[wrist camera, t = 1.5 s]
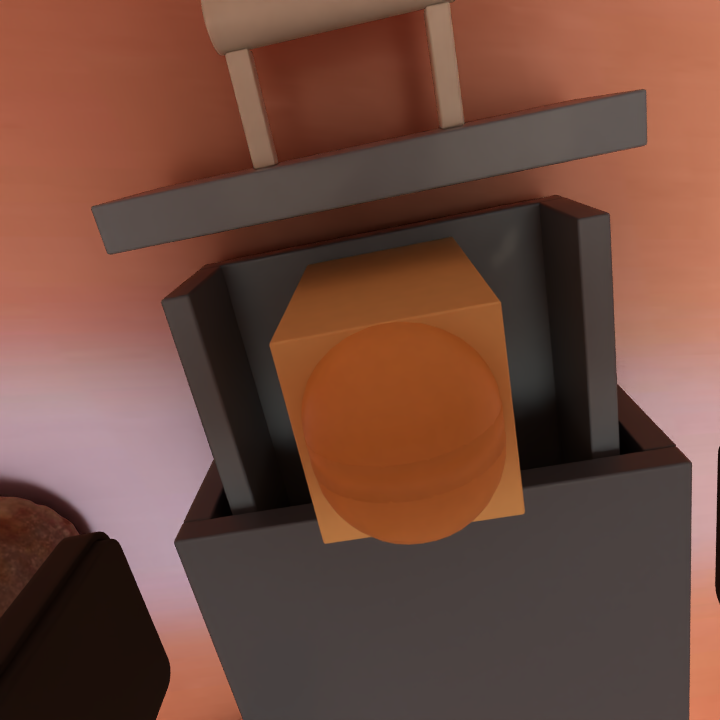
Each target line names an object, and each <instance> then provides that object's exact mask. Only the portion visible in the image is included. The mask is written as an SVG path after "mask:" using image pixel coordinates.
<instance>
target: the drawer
mask: <svg viewBox="0 0 720 720" xmlns="http://www.w3.org/2000/svg"><path fill="white" fill-rule="evenodd" d="M454 1H455V0H201V7H202V13H203V17H204V21H205V25H206V28H207V31H208V34H209V37H210V40H211V42H212V44H213V46H214V48H215V50H216V51H217V53H218V54H219V55H222V56H224V55H225V57H226V61H227V65H228V69H229V73H230V77H231V81H232V85H233V89H234V93H235V97H236V101H237V105H238V109H239V113H240V116H241V120H242V124H243V128H244V132H245V136H246V140H247V144H248V148H249V152H250V156H251V160H252V164H253V168H250V169H246V170H241V171H236V172H232V173H227V174H222V175H218V176H213V177H208V178H203V179H199V180H194V181H189V182H185V183H180V184H175V185H171V186H166V187H161V188H157V189H154V190H150V191H146V192H143V193H139V194H135V195H132V196H128V197H124V198H121V199H117V200H113V201H110V202H106V203H102V204H99V205H95V206H92V207H91V210H92V213H93V215H94V218H95V221H96V224H97V226H98V229H99V232H100V235H101V237H102V240H103V243H104V246H105V249H106V251H107V253H108V254H110V255H111V254H116V253H121V252H126V251H131V250H135V249H140V248H145V247H150V246H155V245H160V244H165V243H170V242H175V241H180V240H185V239H189V238H194V237H199V236H204V235H209V234H214V233H219V232H224V231H229V230H234V229H239V228H243V227H248V226H253V225H258V224H263V223H268V222H273V221H278V220H283V219H288V218H293V217H298V216H302V215H307V214H312V213H317V212H322V211H327V210H332V209H337V208H342V207H347V206H352V205H356V204H361V203H366V202H371V201H376V200H381V199H386V198H391V197H396V196H401V195H406V194H410V193H415V192H420V191H425V190H430V189H435V188H440V187H445V186H450V185H455V184H460V183H464V182H469V181H474V180H479V179H484V178H489V177H494V176H499V175H504V174H509V173H514V172H518V171H523V170H528V169H533V168H538V167H543V166H548V165H553V164H558V163H563V162H568V161H572V160H577V159H582V158H587V157H592V156H597V155H602V154H607V153H612V152H617V151H622V150H626V149H631V148H636V147H641V146H645V145H646V144H647V108H646V90H644V89H641V90H634V91H628V92H621V93H614V94H608V95H601V96H594V97H588V98H581V99H574V100H569V101H565V102H560V103H555V104H551V105H546V106H541V107H537V108H532V109H527V110H522V111H518V112H513V113H508V114H504V115H499V116H494V117H490V118H485V119H480V120H476V121H471V122H466V123H464V114H463V106H462V98H461V90H460V82H459V74H458V66H457V58H456V50H455V41H454V33H453V25H452V17H451V9H450V4H449V3H452V2H454ZM422 9H425V10H424V21H425V28H426V35H427V42H428V49H429V56H430V64H431V71H432V78H433V85H434V92H435V99H436V107H437V114H438V121H439V127H440V128H438V129H433V130H429V131H424V132H419V133H415V134H410V135H405V136H400V137H396V138H391V139H386V140H382V141H377V142H372V143H368V144H363V145H358V146H354V147H349V148H344V149H339V150H335V151H330V152H325V153H321V154H316V155H311V156H307V157H302V158H297V159H293V160H288V161H283V162H279V163H278V159H277V154H276V150H275V146H274V142H273V138H272V133H271V129H270V125H269V121H268V117H267V112H266V108H265V104H264V100H263V96H262V92H261V87H260V83H259V79H258V75H257V71H256V66H255V62H254V58H253V54H252V52H251V51H250V49H254V48H259V47H263V46H267V45H272V44H276V43H280V42H284V41H289V40H293V39H297V38H302V37H306V36H310V35H315V34H319V33H323V32H327V31H332V30H336V29H340V28H345V27H349V26H353V25H357V24H362V23H366V22H370V21H375V20H379V19H383V18H388V17H392V16H396V15H400V14H405V13H409V12H413V11H418V10H422ZM448 237H453V238H454V240H455V241H456V242H457V244H458V245H459V246H460V248H461V249H462V250H463V252H464V253H465V254H466V256H467V257H468V259H469V260H470V261H471V263H472V264H473V265H474V267H475V268H476V269H477V271H478V272H479V273H480V275H481V276H482V277H483V279H484V280H485V281H486V283H487V284H488V286H489V287H490V288H491V290H492V291H493V292H494V294H495V295H496V296H497V298H498V299H499V300H500V302H501V307H502V316H503V324H504V333H505V342H506V351H507V359H508V368H509V377H510V385H511V394H512V403H513V411H514V420H515V429H516V437H517V446H518V455H519V464H520V471H521V470H528V469H534V468H540V467H547V466H553V465H559V464H566V463H572V462H579V461H585V460H591V459H598V458H604V457H611V456H617V455H620V447H619V423H618V399H617V375H616V351H615V327H614V303H613V278H612V254H611V230H610V214H609V213H607V212H604V211H601V210H598V209H595V208H593V207H590V206H587V205H584V204H581V203H578V202H576V201H573V200H570V199H567V198H564V197H561V196H558V195H554V196H549V197H544V198H539V199H534V200H529V201H524V202H519V203H514V204H508V205H503V206H498V207H493V208H488V209H483V210H478V211H473V212H468V213H463V214H458V215H453V216H448V217H443V218H438V219H433V220H428V221H423V222H418V223H413V224H408V225H403V226H398V227H393V228H388V229H383V230H378V231H373V232H368V233H363V234H358V235H353V236H347V237H342V238H337V239H332V240H327V241H322V242H317V243H312V244H307V245H302V246H297V247H292V248H287V249H282V250H277V251H272V252H267V253H262V254H257V255H252V256H247V257H242V258H237V259H232V260H227V261H222V262H217V263H212V264H207V265H205V266H203V267H202V268H201V269H200V270H199V271H197V272H196V273H195V274H194V275H192V276H191V277H190V278H189V279H187V280H186V281H185V282H184V283H182V284H181V285H180V286H179V287H177V288H176V289H175V290H174V291H172V292H171V293H170V294H169V295H168V296H166V297H165V298H164V299H163V300H162V301H161V303H162V306H163V309H164V312H165V315H166V318H167V321H168V324H169V327H170V330H171V333H172V336H173V339H174V342H175V345H176V348H177V351H178V354H179V357H180V360H181V363H182V366H183V369H184V372H185V375H186V378H187V380H188V383H189V386H190V389H191V392H192V395H193V398H194V401H195V404H196V407H197V410H198V413H199V416H200V419H201V422H202V425H203V428H204V431H205V434H206V437H207V440H208V443H209V446H210V449H211V452H212V455H213V458H214V461H215V464H216V467H217V470H218V472H219V475H220V478H221V481H222V484H223V487H224V490H225V493H226V496H227V499H228V502H229V505H230V508H231V511H232V514H233V515H240V514H246V513H253V512H259V511H265V510H272V509H278V508H285V507H291V506H297V505H304V504H310V503H313V502H312V499H311V495H310V492H309V488H308V484H307V481H306V477H305V473H304V470H303V466H302V462H301V459H300V455H299V451H298V448H297V444H296V440H295V437H294V433H293V429H292V426H291V422H290V419H289V415H288V411H287V408H286V404H285V400H284V397H283V393H282V389H281V386H280V382H279V378H278V375H277V371H276V367H275V364H274V360H273V356H272V353H271V349H270V346H269V345H270V342H271V340H272V338H273V335H274V333H275V331H276V329H277V327H278V325H279V323H280V321H281V319H282V317H283V315H284V313H285V311H286V309H287V307H288V305H289V302H290V300H291V298H292V296H293V294H294V292H295V290H296V288H297V286H298V284H299V282H300V280H301V278H302V276H303V274H304V271H305V269H306V267H307V265H310V264H315V263H320V262H325V261H330V260H336V259H341V258H346V257H351V256H356V255H361V254H366V253H371V252H376V251H382V250H387V249H392V248H397V247H402V246H407V245H412V244H417V243H422V242H428V241H433V240H438V239H443V238H448Z"/></svg>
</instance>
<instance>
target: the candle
mask: <svg viewBox="0 0 720 720" xmlns="http://www.w3.org/2000/svg"><path fill="white" fill-rule="evenodd" d="M75 535H79V533H78V532H77V530H76V528H75V527H74V525H73V524H72V523H71V522H70V521H69V520H67V519H65V518H63V517H61V516H60V515H59V514H58V513H57V512H55V511H54V510H53V509H51V508H49V507H47V506H45V505H36V504H35V503H33V502H32V501H31V500H27V499H23V498H18V497H0V618H1V616H2V615H3V614H4V613H5V611H6V610H7V609H8V607H9V606H10V605H11V604H12V602H13V601H14V600H15V599H16V597H17V596H18V595H19V593H20V592H21V591H22V590H23V588H24V587H25V586H26V584H27V583H28V582H29V581H30V579H31V578H32V577H33V575H34V574H35V573H36V572H37V570H38V569H39V568H40V567H41V565H42V564H43V563H44V561H45V560H46V559H47V558H48V556H49V555H50V554H51V552H52V551H53V550H54V549H55V547H56V546H57V545H58V543H59V542H60V541H61V540H62V539H64V538H66V537H69V536H75Z"/></svg>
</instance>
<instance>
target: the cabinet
mask: <svg viewBox="0 0 720 720" xmlns="http://www.w3.org/2000/svg"><path fill="white" fill-rule="evenodd" d="M617 399H618V423H619V447H620V455H617V456H611V457H604V458H598V459H591V460H585V461H579V462H572V463H566V464H559V465H553V466H547V467H540V468H534V469H528V470H521V471H520V472H521V481H522V490H523V498H524V507H525V513H524V514H522V515H515V516H508V517H501V518H495V519H488V520H481V521H475V522H471V523H470V524H468V525H467V526H466V527H464V528H463V529H462V530H460V531H458V532H456V533H454V534H452V535H451V536H448V537H445V538H442V539H440V540H437V541H432V542H428V543H422V544H410V545H407V544H393V543H389V542H384V541H381V540H378V539H376V538H373V537H368V538H361V539H354V540H348V541H341V542H334V543H327V544H325V543H324V542H323V539H322V535H321V532H320V528H319V524H318V521H317V517H316V513H315V510H314V506H313V503H310V504H304V505H297V506H291V507H285V508H278V509H272V510H265V511H259V512H253V513H246V514H240V515H233V514H232V511H231V508H230V505H229V502H228V499H227V496H226V493H225V490H224V487H223V484H222V481H221V478H220V475H219V472H218V470H217V467H216V464H215V461H214V460H213V462H212V464H211V466H210V468H209V470H208V472H207V474H206V476H205V479H204V481H203V483H202V485H201V487H200V489H199V491H198V493H197V495H196V497H195V499H194V501H193V503H192V505H191V508H190V510H189V512H188V514H187V516H186V518H185V520H184V524H183V525H182V526H181V528H180V530H179V533H178V535H177V537H176V539H175V541H174V544H175V547H176V549H177V552H178V554H179V557H180V559H181V562H182V564H183V567H184V570H185V572H186V575H187V577H188V580H189V582H190V585H191V588H192V590H193V593H194V595H195V598H196V600H197V603H198V606H199V608H200V611H201V613H202V616H203V618H204V621H205V623H206V626H207V629H208V631H209V634H210V636H211V639H212V641H213V644H214V647H215V649H216V652H217V654H218V657H219V659H220V662H221V665H222V667H223V670H224V672H225V675H226V677H227V680H228V682H229V685H230V688H231V690H232V693H233V695H234V698H235V700H236V703H237V706H238V708H239V711H240V713H241V716H242V718H243V720H689V688H690V596H691V505H692V463H691V461H690V460H689V459H688V458H687V457H686V456H685V455H684V454H683V453H682V452H681V451H680V450H679V449H678V448H677V447H676V445H675V444H674V443H673V442H672V441H671V440H670V439H669V437H668V436H667V435H666V434H665V433H664V432H663V431H662V430H661V429H660V428H659V427H658V426H657V425H656V424H655V423H654V422H653V421H652V420H651V419H650V418H649V417H648V416H647V415H646V414H645V412H644V411H643V410H642V409H641V408H640V407H639V406H638V405H637V404H636V403H635V402H634V401H633V400H632V399H631V398H630V397H629V396H628V395H627V394H626V393H625V392H624V391H623V390H622V388H621V387H620V386H619V385H618V384H617Z"/></svg>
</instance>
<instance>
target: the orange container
mask: <svg viewBox="0 0 720 720" xmlns="http://www.w3.org/2000/svg"><path fill="white" fill-rule="evenodd" d="M269 346H270V349H271V353H272V356H273V360H274V364H275V367H276V371H277V375H278V378H279V382H280V386H281V389H282V393H283V397H284V400H285V404H286V408H287V411H288V415H289V419H290V422H291V426H292V429H293V433H294V437H295V440H296V444H297V448H298V451H299V455H300V459H301V462H302V466H303V470H304V473H305V477H306V481H307V484H308V488H309V492H310V495H311V499H312V502H313V506H314V510H315V513H316V517H317V521H318V524H319V528H320V532H321V535H322V539H323V542H324V543H325V544H327V543H334V542H341V541H348V540H354V539H361V538H368V537H373V538H376V539H378V540H381V541H384V542H389V543H393V544H407V545H410V544H422V543H428V542H432V541H437V540H440V539H442V538H445V537H448V536H451V535H452V534H454V533H456V532H458V531H460V530H462V529H463V528H464V527H466V526H467V525H468V524H470V523H471V522H475V521H481V520H488V519H495V518H501V517H508V516H515V515H522V514H524V513H525V507H524V498H523V490H522V481H521V472H520V464H519V455H518V446H517V437H516V429H515V420H514V411H513V403H512V394H511V385H510V377H509V368H508V359H507V351H506V342H505V333H504V324H503V316H502V307H501V302H500V300H499V299H498V298H497V296H496V295H495V294H494V292H493V291H492V290H491V288H490V287H489V286H488V284H487V283H486V281H485V280H484V279H483V277H482V276H481V275H480V273H479V272H478V271H477V269H476V268H475V267H474V265H473V264H472V263H471V261H470V260H469V259H468V257H467V256H466V254H465V253H464V252H463V250H462V249H461V248H460V246H459V245H458V244H457V242H456V241H455V240H454V238H453V237H448V238H443V239H438V240H433V241H428V242H422V243H417V244H412V245H407V246H402V247H397V248H392V249H387V250H382V251H376V252H371V253H366V254H361V255H356V256H351V257H346V258H341V259H336V260H330V261H325V262H320V263H315V264H310V265H307V267H306V269H305V271H304V274H303V276H302V278H301V280H300V282H299V284H298V286H297V288H296V290H295V292H294V294H293V296H292V298H291V300H290V302H289V305H288V307H287V309H286V311H285V313H284V315H283V317H282V319H281V321H280V323H279V325H278V327H277V329H276V331H275V333H274V335H273V338H272V340H271V342H270V345H269Z"/></svg>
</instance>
